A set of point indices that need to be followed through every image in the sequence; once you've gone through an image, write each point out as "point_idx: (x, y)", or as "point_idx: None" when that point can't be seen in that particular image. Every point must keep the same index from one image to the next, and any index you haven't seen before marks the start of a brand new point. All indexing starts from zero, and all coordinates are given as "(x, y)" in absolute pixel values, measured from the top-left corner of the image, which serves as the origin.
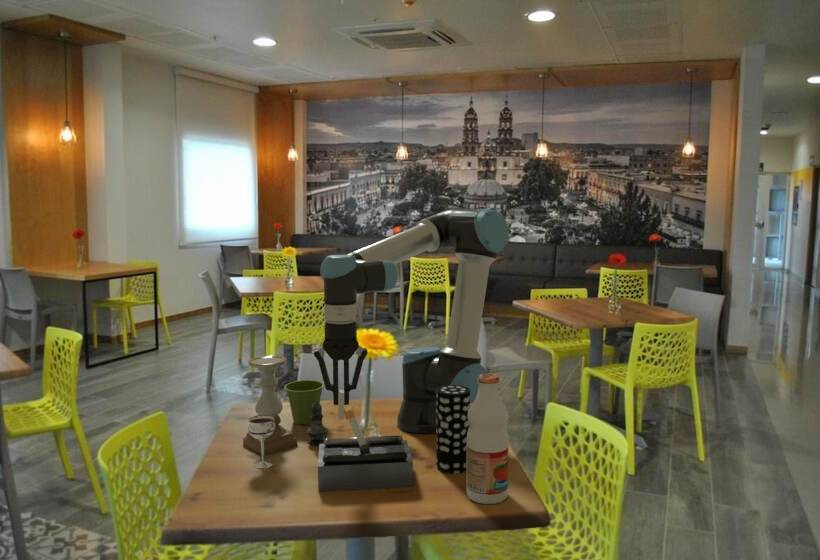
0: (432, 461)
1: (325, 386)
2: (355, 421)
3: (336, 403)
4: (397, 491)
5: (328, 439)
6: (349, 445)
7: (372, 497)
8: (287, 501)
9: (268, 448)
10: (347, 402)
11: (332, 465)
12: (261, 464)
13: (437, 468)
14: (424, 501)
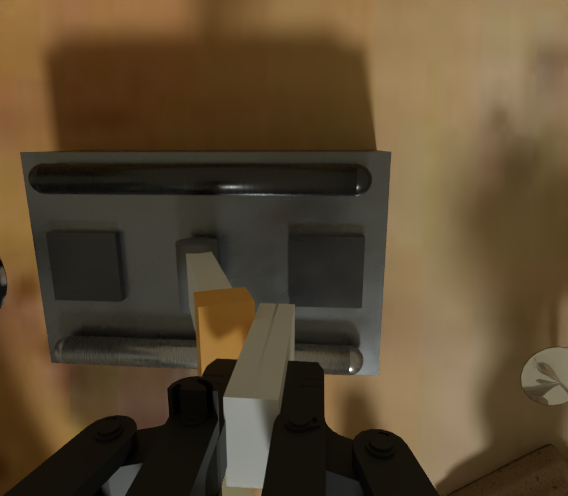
0: (19, 322)
1: (413, 459)
2: (199, 290)
3: (300, 368)
4: (122, 120)
5: (344, 361)
6: None
7: (201, 84)
8: (482, 84)
9: (542, 465)
10: (218, 368)
11: (330, 156)
12: (564, 367)
13: (2, 267)
14: (38, 35)
